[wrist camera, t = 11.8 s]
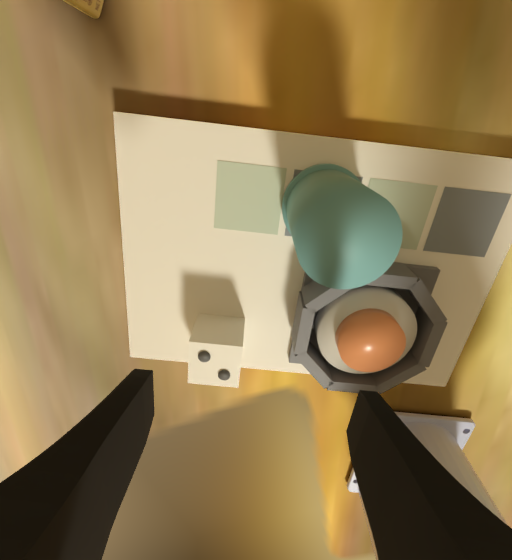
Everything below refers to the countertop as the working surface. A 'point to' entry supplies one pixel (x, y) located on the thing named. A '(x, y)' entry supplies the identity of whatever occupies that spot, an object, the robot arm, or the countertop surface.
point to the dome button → (365, 329)
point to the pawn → (340, 227)
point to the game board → (293, 248)
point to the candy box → (87, 6)
